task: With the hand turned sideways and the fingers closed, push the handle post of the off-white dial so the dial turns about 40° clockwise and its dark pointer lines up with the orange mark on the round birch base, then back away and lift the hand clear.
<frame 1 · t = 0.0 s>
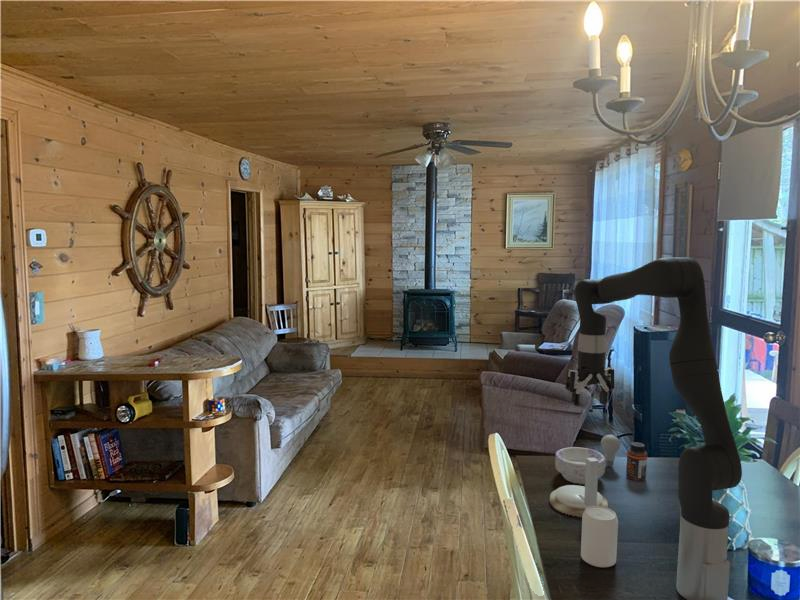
hand: (589, 404, 167), 29 cm above the table, tool pointing down, fingers open, 8 cm apart
paper bowls: (579, 479, 187), on the table
dial base: (578, 504, 169), on the table
dial: (580, 475, 167), point 9 cm above the table, hinge at 0.0°
lightbulb: (609, 467, 196), on the table
supplement bottle: (635, 478, 187), on the table
beverage can: (598, 560, 140), on the table
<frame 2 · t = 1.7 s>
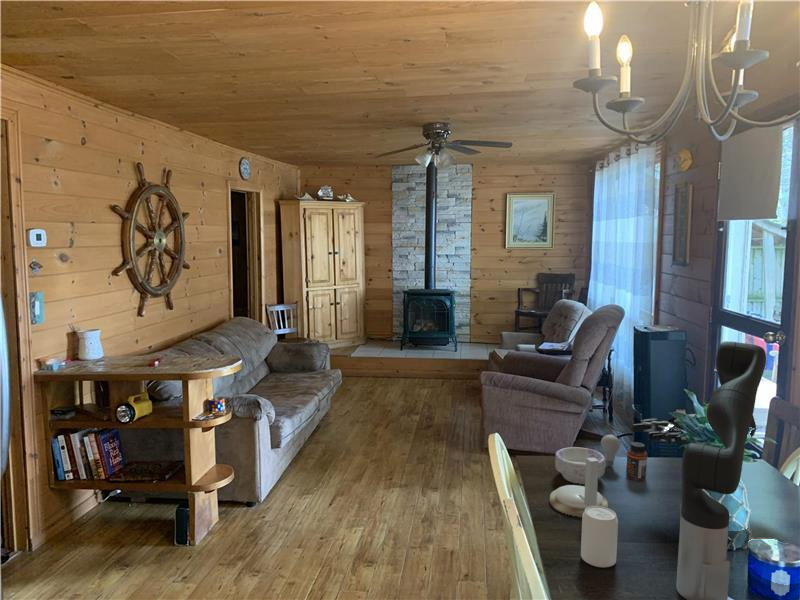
hand: (640, 432, 165), 22 cm above the table, tool horizontal, fingers open, 6 cm apart
nothing on the table moved.
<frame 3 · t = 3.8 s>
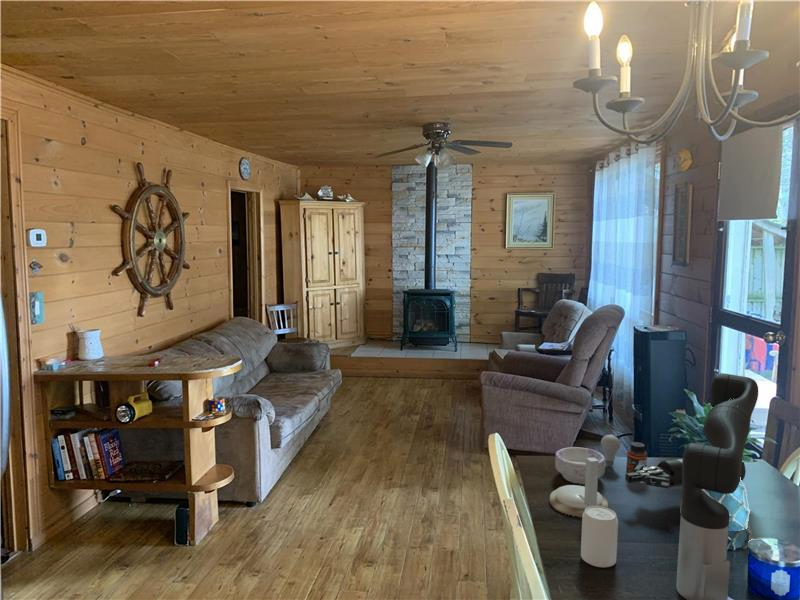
hand: (627, 478, 165), 9 cm above the table, tool horizontal, fingers closed
nothing on the table moved.
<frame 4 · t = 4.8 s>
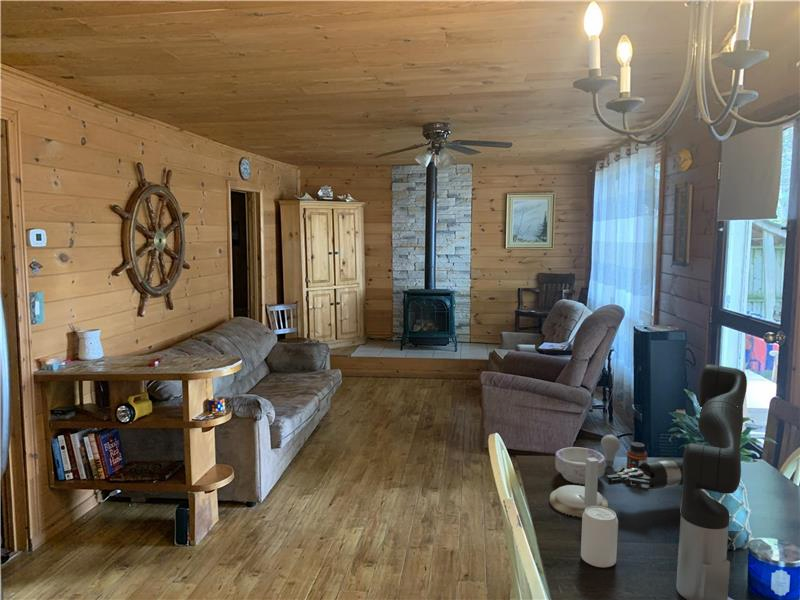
hand: (606, 480, 164), 9 cm above the table, tool horizontal, fingers closed
nothing on the table moved.
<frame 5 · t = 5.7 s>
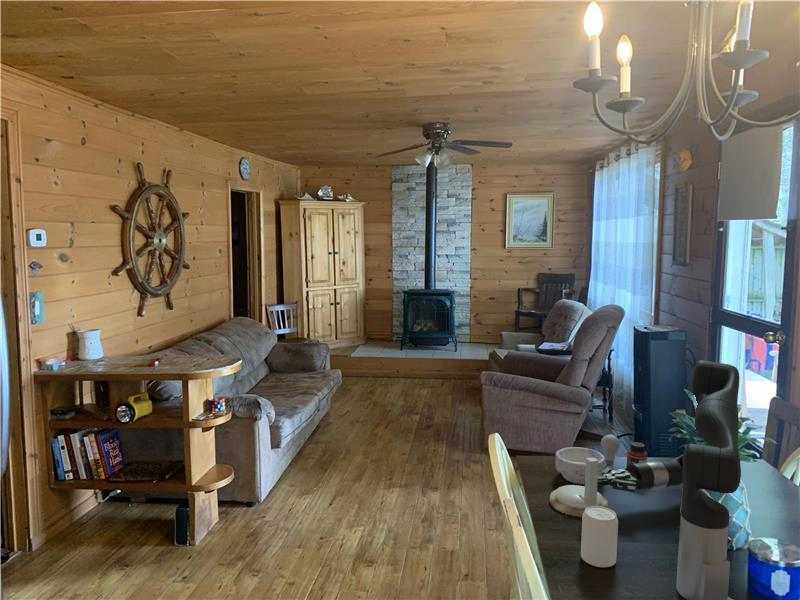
hand: (593, 481, 163), 9 cm above the table, tool horizontal, fingers closed
dial: (580, 475, 167), point 9 cm above the table, hinge at -0.6°, touching gripper
everything else where it was.
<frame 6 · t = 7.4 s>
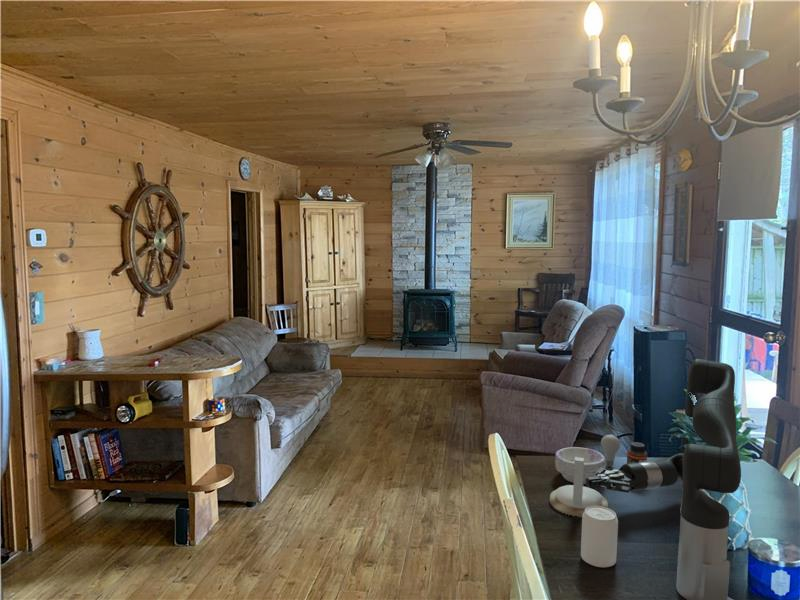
hand: (587, 482, 162), 9 cm above the table, tool horizontal, fingers closed
dial: (579, 475, 167), point 9 cm above the table, hinge at -34.4°
everything else where it was.
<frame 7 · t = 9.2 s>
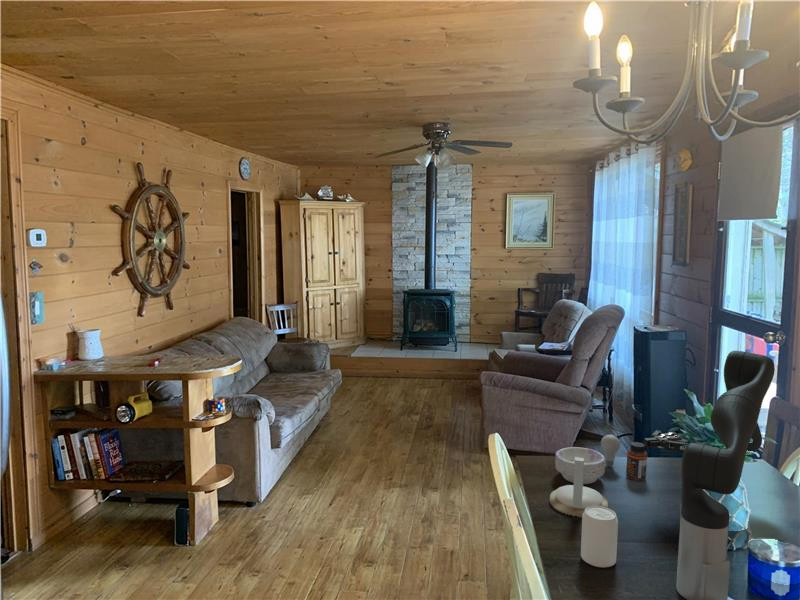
hand: (645, 443, 163), 20 cm above the table, tool horizontal, fingers closed
nothing on the table moved.
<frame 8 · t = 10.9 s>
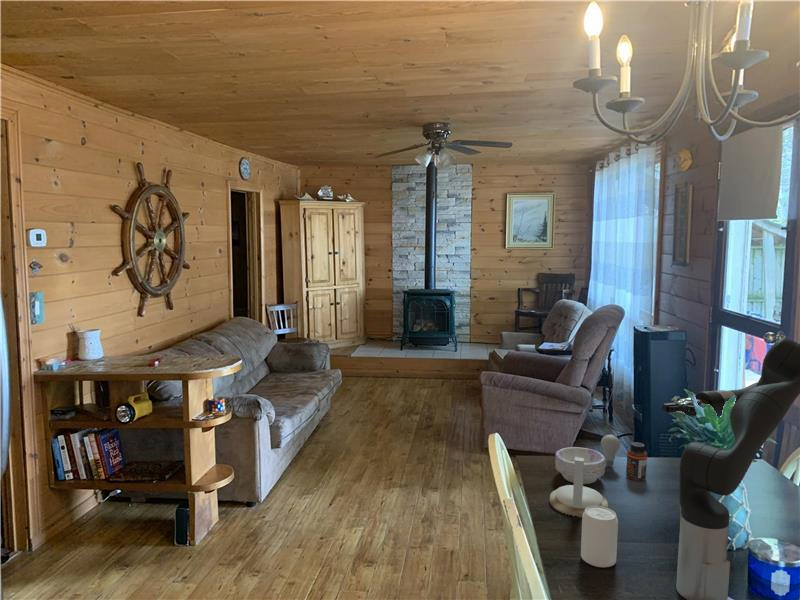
hand: (664, 408, 161), 30 cm above the table, tool horizontal, fingers closed
nothing on the table moved.
at the end: dial at -34° (first picture: +0°); the gripper is holding nothing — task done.
